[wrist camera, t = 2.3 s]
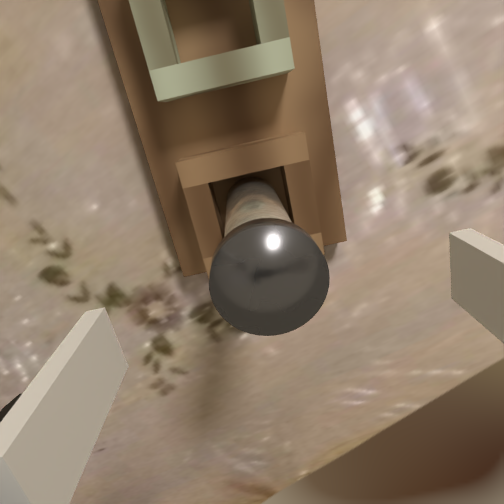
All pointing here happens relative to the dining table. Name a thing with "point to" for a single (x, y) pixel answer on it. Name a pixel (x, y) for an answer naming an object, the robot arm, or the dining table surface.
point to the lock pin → (265, 264)
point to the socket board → (228, 111)
